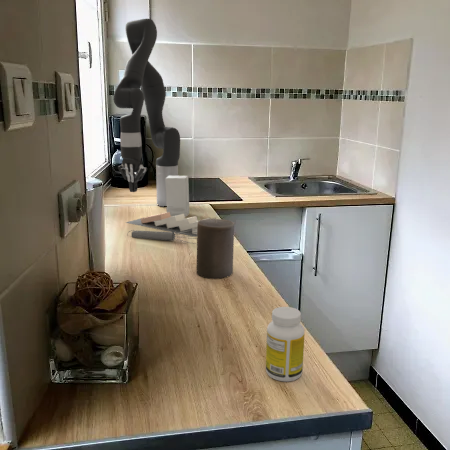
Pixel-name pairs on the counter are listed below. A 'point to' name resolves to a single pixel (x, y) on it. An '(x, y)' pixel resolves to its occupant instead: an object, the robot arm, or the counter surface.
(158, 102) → the robot arm
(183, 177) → the skincare box
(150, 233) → the kitchen whisk
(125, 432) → the counter surface
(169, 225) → the domino
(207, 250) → the pillar candle
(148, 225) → the mat
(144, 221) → the domino
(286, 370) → the pill bottle
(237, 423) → the counter surface
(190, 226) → the domino
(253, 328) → the counter surface
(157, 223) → the domino
